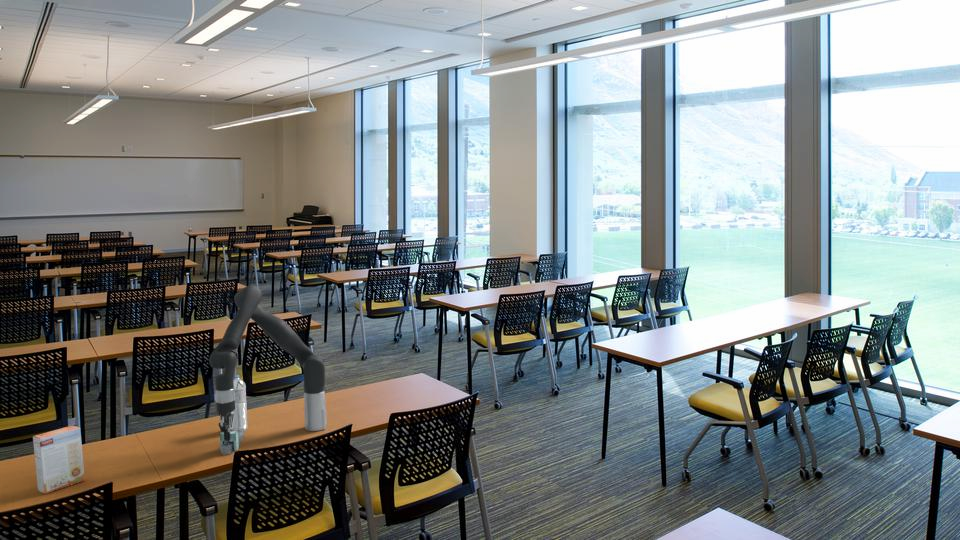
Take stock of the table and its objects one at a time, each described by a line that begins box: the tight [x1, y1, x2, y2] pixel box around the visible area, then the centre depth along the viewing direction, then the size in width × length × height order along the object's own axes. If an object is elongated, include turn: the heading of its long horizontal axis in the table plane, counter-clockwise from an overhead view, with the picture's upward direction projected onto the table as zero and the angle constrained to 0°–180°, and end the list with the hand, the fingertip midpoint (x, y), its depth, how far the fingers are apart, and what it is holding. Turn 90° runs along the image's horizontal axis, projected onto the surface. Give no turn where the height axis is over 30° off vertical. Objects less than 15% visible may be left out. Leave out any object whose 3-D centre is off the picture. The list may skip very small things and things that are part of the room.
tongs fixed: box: [220, 429, 245, 456], centre depth 291 cm, size 20×4×4 cm, turn 3°
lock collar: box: [219, 430, 240, 452], centre depth 286 cm, size 3×7×7 cm, turn 93°
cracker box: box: [32, 425, 86, 494], centre depth 251 cm, size 14×6×21 cm, turn 145°
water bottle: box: [231, 374, 248, 432], centre depth 310 cm, size 7×7×25 cm
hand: (227, 440), depth 283 cm, fingers closed
